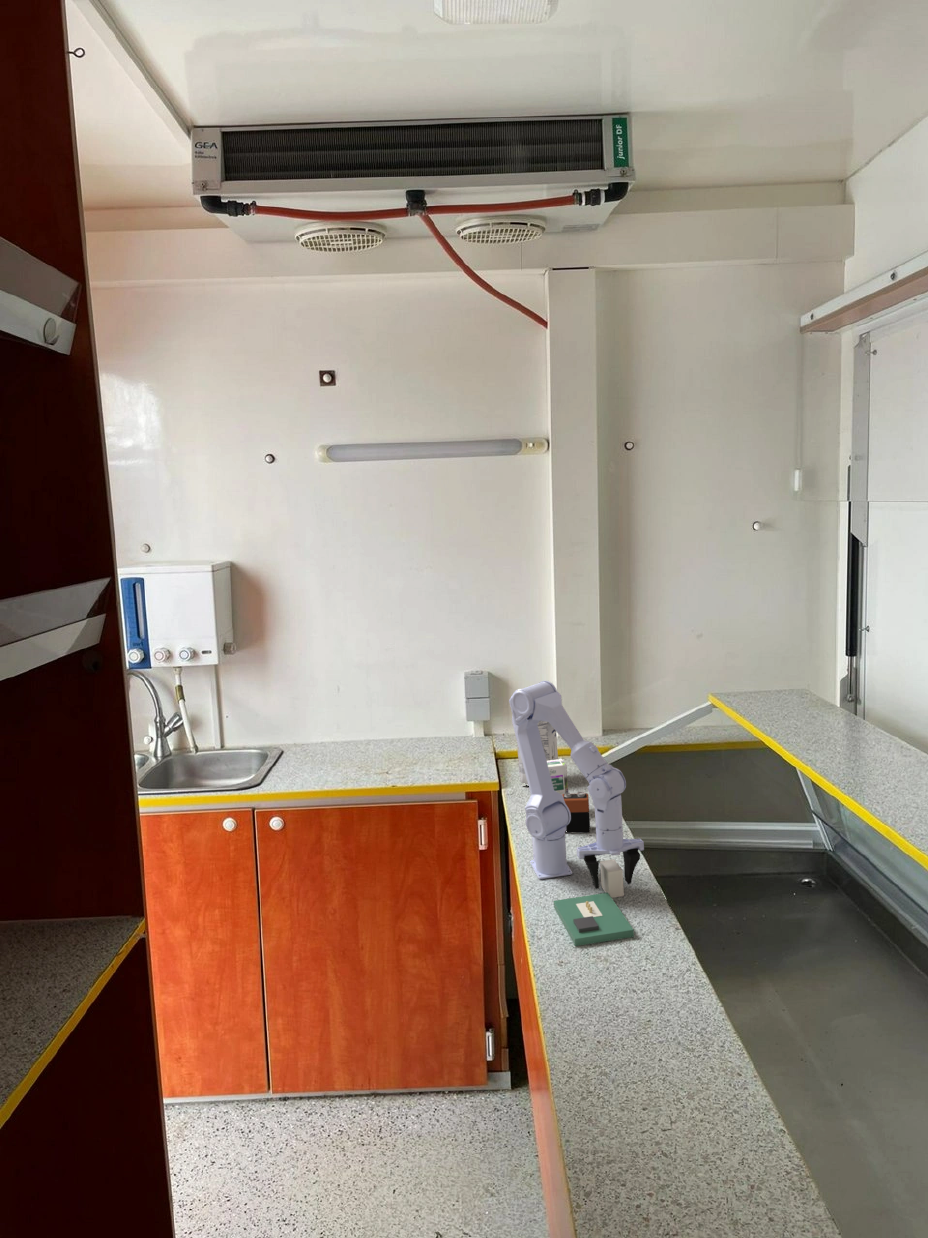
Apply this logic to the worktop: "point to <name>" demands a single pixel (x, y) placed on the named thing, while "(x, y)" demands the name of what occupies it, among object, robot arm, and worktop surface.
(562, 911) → the circuit board
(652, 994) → the worktop surface
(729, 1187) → the worktop surface
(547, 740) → the juice carton
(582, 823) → the battery
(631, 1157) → the worktop surface
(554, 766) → the syrup box
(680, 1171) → the worktop surface
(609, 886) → the block
